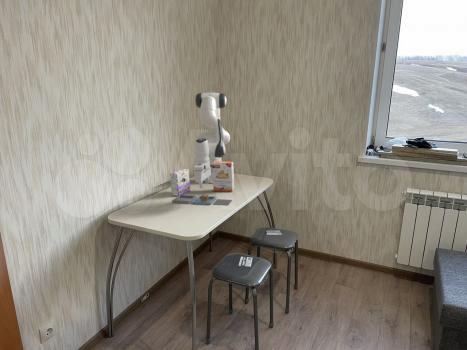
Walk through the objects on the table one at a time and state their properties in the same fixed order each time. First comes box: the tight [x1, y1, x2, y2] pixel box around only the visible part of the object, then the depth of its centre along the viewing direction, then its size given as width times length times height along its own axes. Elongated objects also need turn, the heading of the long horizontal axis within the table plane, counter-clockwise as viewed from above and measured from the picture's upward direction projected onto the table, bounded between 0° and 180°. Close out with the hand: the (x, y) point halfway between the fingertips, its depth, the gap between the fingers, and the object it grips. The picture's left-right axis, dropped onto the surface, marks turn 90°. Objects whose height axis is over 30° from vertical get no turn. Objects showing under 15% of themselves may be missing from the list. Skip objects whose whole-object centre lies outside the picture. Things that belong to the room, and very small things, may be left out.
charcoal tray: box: [172, 194, 198, 205], centre depth 228 cm, size 12×12×2 cm
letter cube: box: [200, 193, 210, 202], centre depth 224 cm, size 4×4×4 cm
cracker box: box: [212, 160, 235, 193], centre depth 245 cm, size 14×6×21 cm, turn 76°
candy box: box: [169, 168, 191, 197], centre depth 243 cm, size 14×6×16 cm, turn 149°
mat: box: [212, 198, 233, 206], centre depth 221 cm, size 10×10×1 cm
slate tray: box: [192, 195, 217, 206], centre depth 224 cm, size 12×12×2 cm
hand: (204, 185), depth 221 cm, fingers open, 8 cm apart
